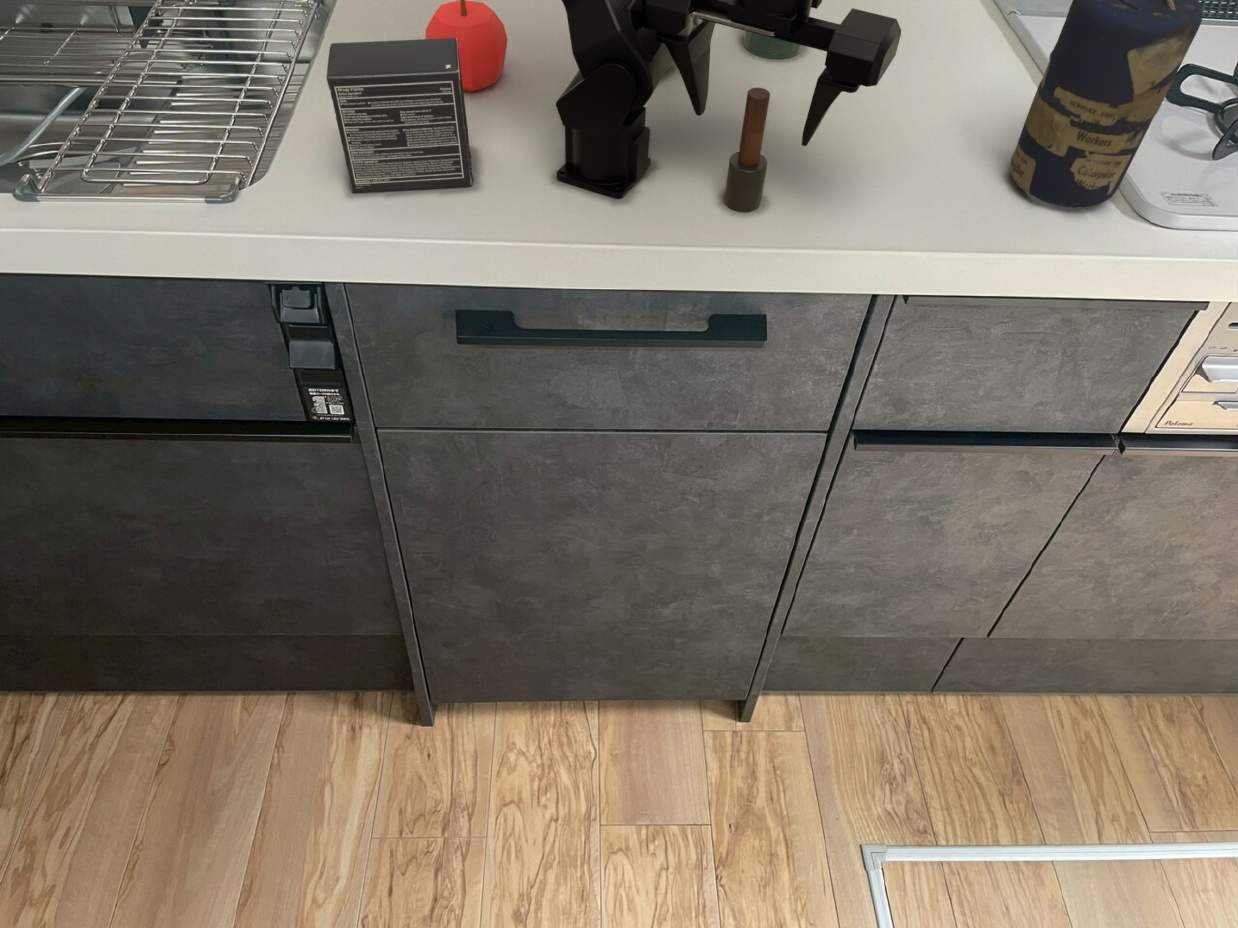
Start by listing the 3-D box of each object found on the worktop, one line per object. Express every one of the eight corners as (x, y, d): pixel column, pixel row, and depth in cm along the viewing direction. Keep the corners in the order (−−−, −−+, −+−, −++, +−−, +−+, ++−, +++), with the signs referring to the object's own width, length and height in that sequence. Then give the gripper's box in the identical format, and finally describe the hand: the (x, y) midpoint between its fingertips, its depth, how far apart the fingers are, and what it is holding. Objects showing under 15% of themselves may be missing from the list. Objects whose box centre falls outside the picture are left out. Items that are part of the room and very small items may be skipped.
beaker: (735, 50, 100) (742, -8, 95) (755, 26, 103) (763, -31, 99) (790, 64, 98) (800, 6, 93) (809, 40, 102) (820, -18, 97)
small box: (471, 147, 86) (459, 33, 78) (474, 188, 82) (462, 72, 74) (352, 153, 85) (329, 38, 77) (350, 195, 81) (324, 78, 73)
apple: (475, 109, 90) (468, 26, 84) (412, 84, 93) (401, 1, 87) (526, 76, 95) (522, -5, 88) (464, 53, 97) (457, -28, 91)
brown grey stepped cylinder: (718, 205, 81) (732, 97, 74) (731, 187, 83) (747, 79, 76) (752, 216, 80) (770, 107, 73) (765, 197, 82) (784, 89, 75)
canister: (1034, 221, 81) (1127, 11, 68) (986, 161, 87) (1062, -44, 73) (1133, 211, 83) (1244, 4, 69) (1079, 152, 89) (1171, -50, 75)
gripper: (946, -90, 67) (890, 113, 79) (705, -140, 72) (686, 58, 84) (905, -33, 60) (850, 179, 72) (643, -93, 65) (632, 115, 77)
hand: (752, 128), depth 77 cm, fingers open, 9 cm apart
